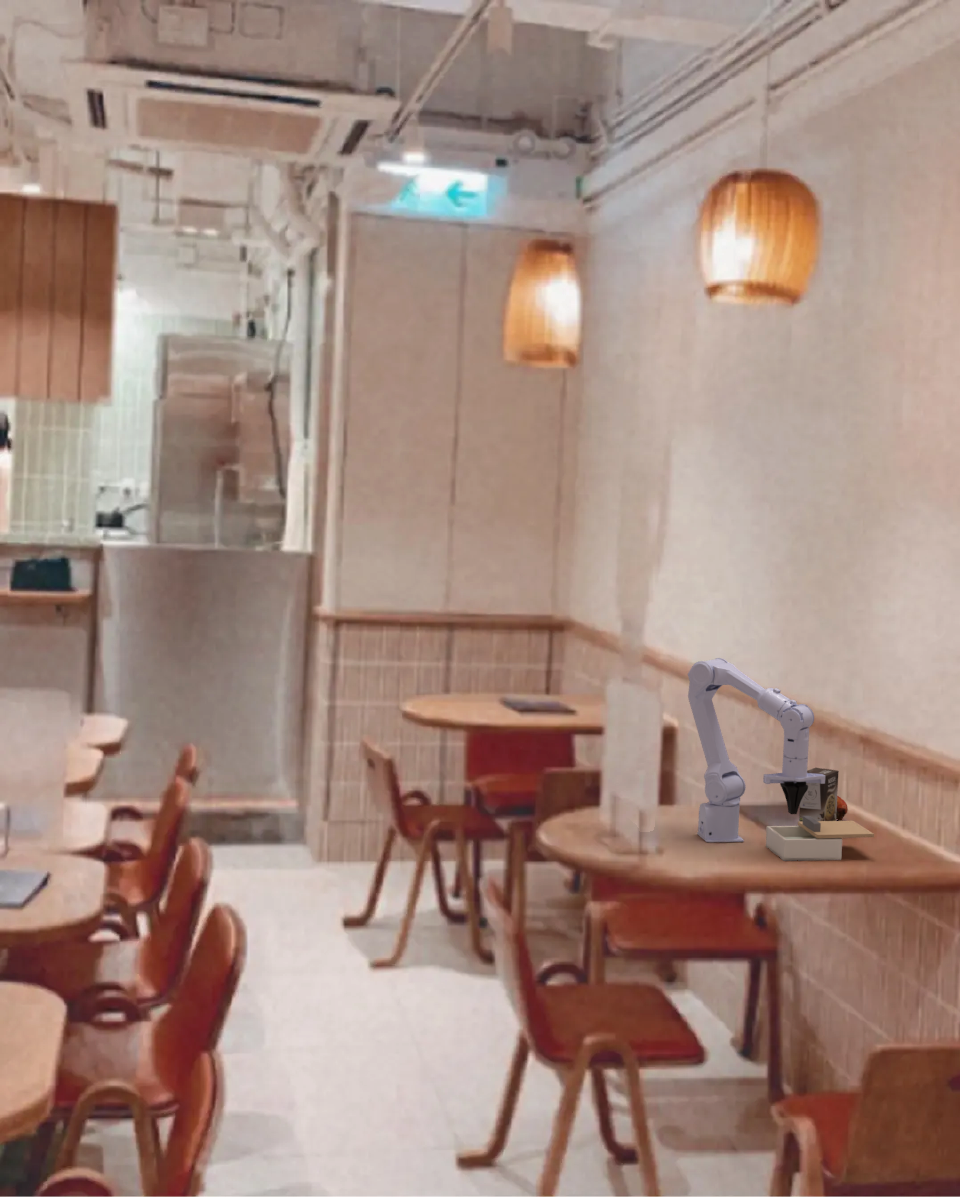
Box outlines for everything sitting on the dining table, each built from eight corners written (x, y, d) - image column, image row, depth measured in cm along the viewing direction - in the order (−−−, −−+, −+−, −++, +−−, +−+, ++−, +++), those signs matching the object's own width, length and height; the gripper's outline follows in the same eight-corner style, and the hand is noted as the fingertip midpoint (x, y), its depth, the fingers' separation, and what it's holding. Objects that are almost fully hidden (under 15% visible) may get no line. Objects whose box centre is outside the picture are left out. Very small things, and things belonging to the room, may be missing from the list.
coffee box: (821, 840, 336) (825, 776, 335) (797, 835, 340) (800, 772, 339) (836, 833, 344) (839, 770, 342) (812, 828, 347) (815, 766, 346)
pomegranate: (849, 833, 353) (844, 802, 360) (850, 815, 348) (845, 784, 355) (820, 834, 354) (815, 803, 361) (820, 816, 349) (816, 786, 356)
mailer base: (783, 860, 318) (784, 839, 317) (765, 846, 330) (766, 826, 329) (841, 859, 320) (842, 838, 319) (821, 845, 332) (822, 825, 331)
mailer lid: (816, 838, 318) (817, 826, 318) (797, 824, 330) (798, 813, 330) (874, 837, 320) (874, 825, 320) (852, 823, 332) (853, 812, 332)
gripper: (771, 760, 317) (769, 817, 318) (831, 760, 319) (828, 817, 320) (761, 753, 324) (758, 810, 325) (819, 753, 326) (816, 809, 327)
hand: (792, 813), depth 323 cm, fingers closed
